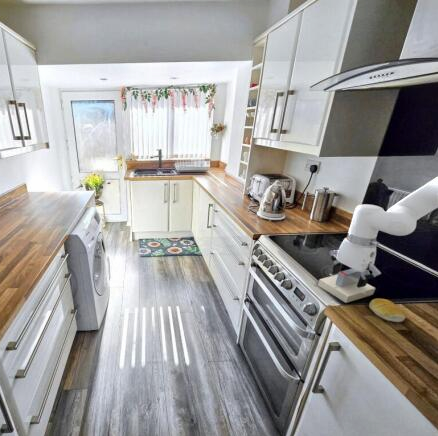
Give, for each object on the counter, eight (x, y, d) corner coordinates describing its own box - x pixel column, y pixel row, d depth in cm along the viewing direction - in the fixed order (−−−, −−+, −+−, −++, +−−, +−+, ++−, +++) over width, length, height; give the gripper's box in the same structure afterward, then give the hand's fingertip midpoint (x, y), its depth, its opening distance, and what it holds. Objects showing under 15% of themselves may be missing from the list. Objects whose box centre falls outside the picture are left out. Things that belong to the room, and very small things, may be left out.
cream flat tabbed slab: (340, 276, 101) (342, 270, 100) (376, 296, 89) (379, 289, 88) (315, 283, 97) (316, 277, 96) (349, 305, 85) (351, 298, 84)
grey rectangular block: (352, 279, 94) (356, 266, 92) (358, 282, 92) (362, 269, 90) (335, 284, 92) (338, 271, 90) (340, 287, 90) (344, 274, 88)
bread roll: (388, 305, 85) (392, 295, 83) (409, 324, 77) (413, 314, 75) (362, 302, 86) (365, 293, 85) (379, 321, 78) (383, 311, 77)
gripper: (397, 248, 78) (380, 291, 85) (343, 228, 94) (332, 266, 100) (381, 251, 76) (365, 296, 83) (328, 231, 92) (318, 269, 98)
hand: (347, 279), depth 91 cm, fingers open, 8 cm apart
